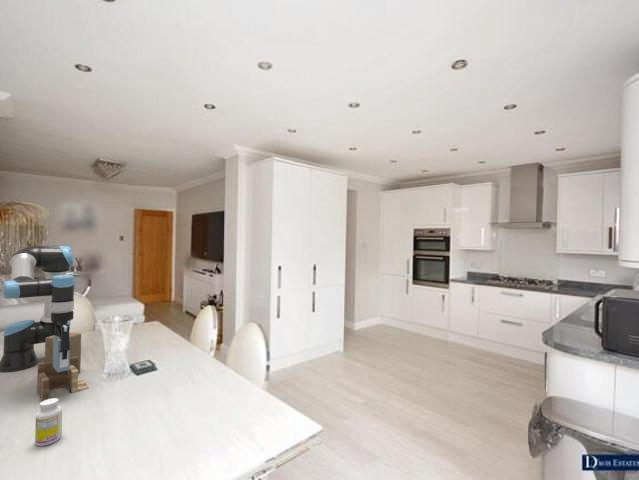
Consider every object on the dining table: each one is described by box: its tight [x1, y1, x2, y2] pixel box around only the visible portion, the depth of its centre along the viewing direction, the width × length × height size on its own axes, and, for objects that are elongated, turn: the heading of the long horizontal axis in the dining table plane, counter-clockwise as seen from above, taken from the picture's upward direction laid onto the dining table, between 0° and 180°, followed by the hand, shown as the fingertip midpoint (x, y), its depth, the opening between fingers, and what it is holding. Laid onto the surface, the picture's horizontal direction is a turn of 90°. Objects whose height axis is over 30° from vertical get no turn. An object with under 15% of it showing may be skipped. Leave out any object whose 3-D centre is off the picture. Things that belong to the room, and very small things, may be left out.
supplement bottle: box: [34, 397, 63, 447], centre depth 104 cm, size 7×7×13 cm
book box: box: [53, 336, 70, 372], centre depth 134 cm, size 10×4×13 cm, turn 49°
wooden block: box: [44, 332, 82, 375], centre depth 154 cm, size 10×10×20 cm
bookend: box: [66, 365, 90, 394], centre depth 142 cm, size 10×6×9 cm, turn 49°
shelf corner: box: [36, 356, 78, 402], centre depth 137 cm, size 15×14×12 cm
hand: (61, 363), depth 134 cm, fingers closed on book box, 10 cm apart
